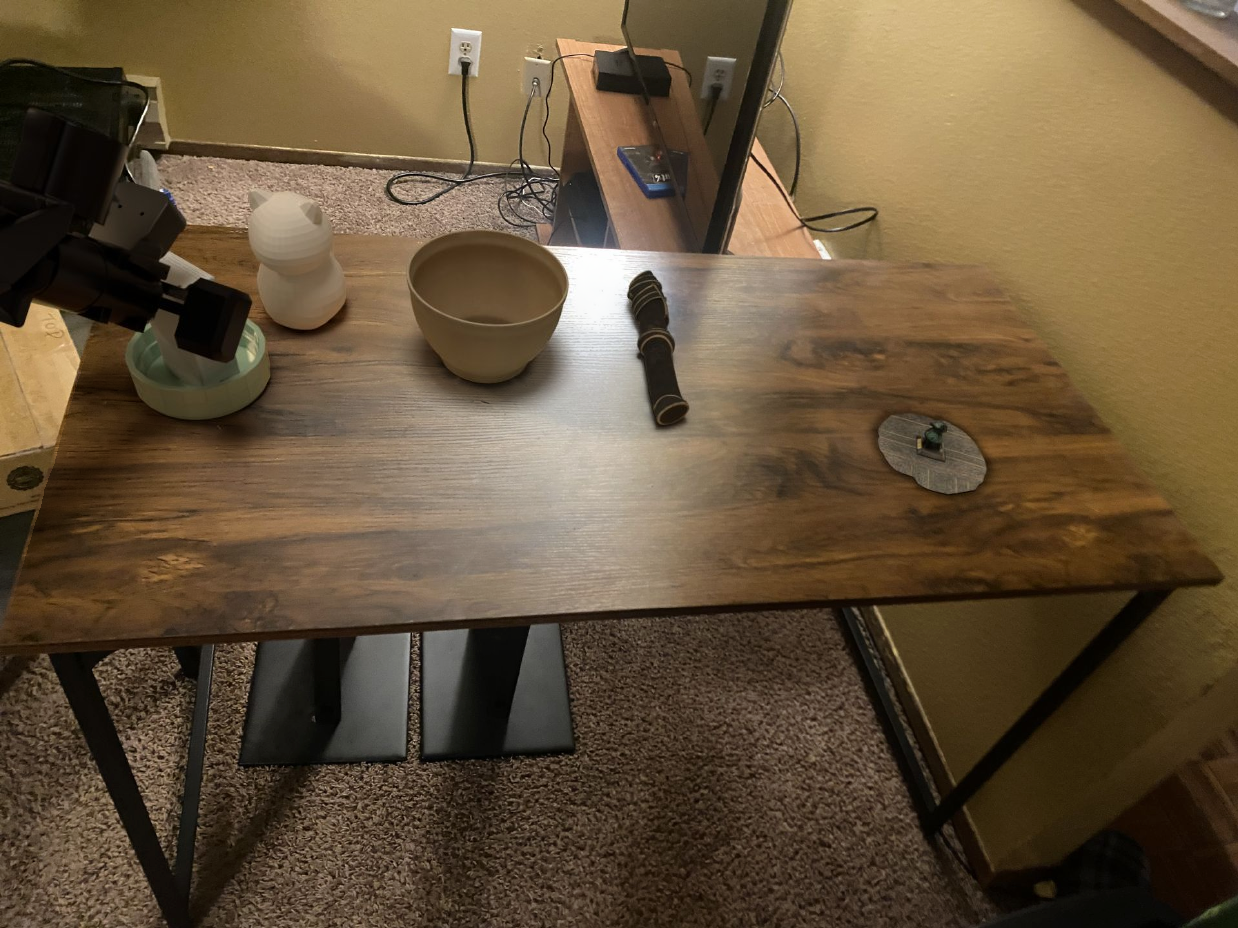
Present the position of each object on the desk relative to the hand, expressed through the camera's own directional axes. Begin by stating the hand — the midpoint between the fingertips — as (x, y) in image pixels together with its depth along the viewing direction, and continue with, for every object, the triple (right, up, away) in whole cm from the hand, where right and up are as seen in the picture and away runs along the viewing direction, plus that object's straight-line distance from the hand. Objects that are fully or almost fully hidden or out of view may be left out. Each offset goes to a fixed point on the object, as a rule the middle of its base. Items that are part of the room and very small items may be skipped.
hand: (198, 313), depth 79 cm
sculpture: (+74, -13, +13) cm, 76 cm away
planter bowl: (+25, -3, +13) cm, 28 cm away
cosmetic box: (-2, -5, +4) cm, 7 cm away
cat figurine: (+5, +3, +14) cm, 15 cm away
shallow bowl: (-2, -6, +4) cm, 7 cm away
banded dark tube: (+43, -2, +18) cm, 47 cm away
